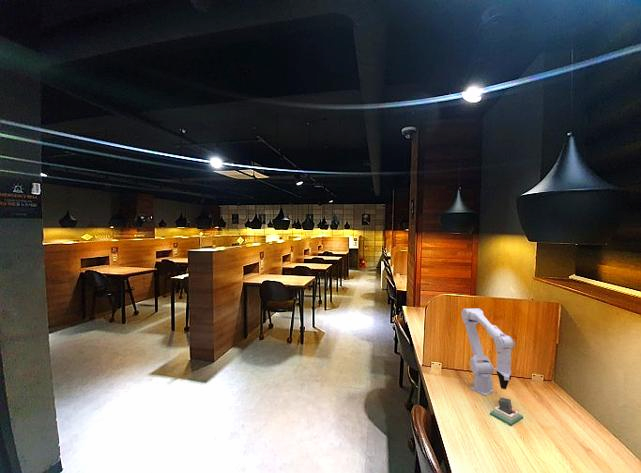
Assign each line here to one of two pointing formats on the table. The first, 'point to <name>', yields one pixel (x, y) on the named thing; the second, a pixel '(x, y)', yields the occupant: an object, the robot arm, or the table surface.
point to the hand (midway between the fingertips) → (503, 388)
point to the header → (505, 415)
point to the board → (506, 419)
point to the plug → (506, 406)
